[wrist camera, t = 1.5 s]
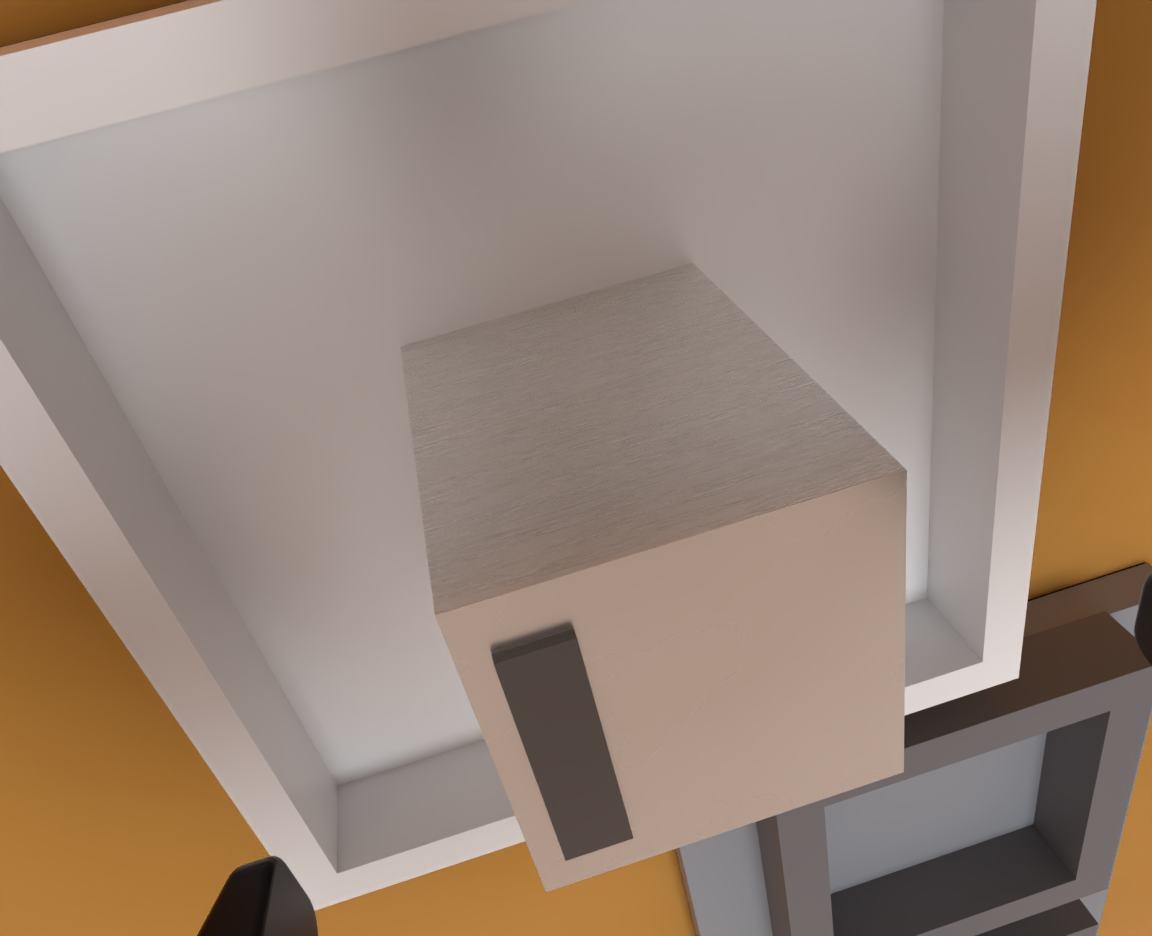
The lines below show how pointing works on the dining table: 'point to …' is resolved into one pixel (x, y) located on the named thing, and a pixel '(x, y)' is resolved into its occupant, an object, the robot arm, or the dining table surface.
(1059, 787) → the plate
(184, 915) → the dining table surface
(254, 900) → the robot arm
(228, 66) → the white square tray
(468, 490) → the billet loose
